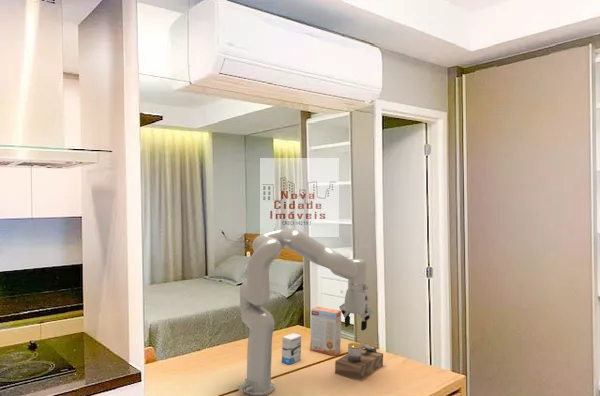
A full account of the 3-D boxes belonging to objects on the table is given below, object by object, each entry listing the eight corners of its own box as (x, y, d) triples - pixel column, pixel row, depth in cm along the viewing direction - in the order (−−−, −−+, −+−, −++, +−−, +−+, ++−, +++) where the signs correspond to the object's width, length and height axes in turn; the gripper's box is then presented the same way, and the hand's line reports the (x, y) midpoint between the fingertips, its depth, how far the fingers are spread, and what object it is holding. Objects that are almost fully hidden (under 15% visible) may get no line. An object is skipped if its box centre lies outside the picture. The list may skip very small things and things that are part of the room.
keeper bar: (365, 346, 204) (366, 343, 204) (358, 344, 206) (359, 342, 206) (373, 352, 210) (374, 349, 211) (367, 350, 212) (367, 347, 213)
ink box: (289, 365, 206) (290, 339, 206) (281, 362, 209) (281, 336, 209) (301, 360, 213) (301, 334, 212) (292, 357, 216) (293, 332, 215)
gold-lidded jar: (362, 371, 200) (363, 345, 200) (356, 375, 195) (357, 348, 195) (351, 368, 203) (352, 342, 203) (345, 371, 199) (345, 345, 198)
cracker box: (340, 352, 224) (342, 310, 223) (334, 356, 218) (336, 312, 218) (315, 347, 231) (317, 305, 231) (309, 350, 226) (311, 308, 226)
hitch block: (359, 380, 191) (360, 363, 191) (335, 373, 198) (335, 356, 198) (382, 365, 209) (383, 349, 209) (359, 359, 216) (360, 343, 216)
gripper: (378, 289, 197) (377, 330, 197) (343, 283, 207) (342, 322, 207) (370, 291, 191) (369, 334, 191) (335, 285, 201) (333, 325, 201)
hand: (355, 327), depth 199 cm, fingers open, 7 cm apart
